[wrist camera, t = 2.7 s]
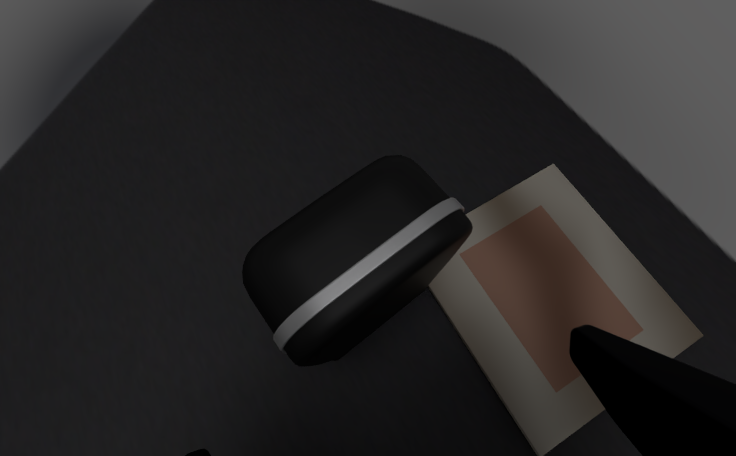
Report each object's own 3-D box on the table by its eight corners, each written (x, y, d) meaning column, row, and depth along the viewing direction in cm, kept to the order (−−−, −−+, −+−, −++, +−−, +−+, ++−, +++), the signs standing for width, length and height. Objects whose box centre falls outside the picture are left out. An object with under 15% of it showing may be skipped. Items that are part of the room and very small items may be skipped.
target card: (536, 455, 17) (540, 457, 17) (404, 251, 21) (405, 249, 21) (697, 336, 19) (703, 335, 19) (550, 166, 23) (553, 163, 22)
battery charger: (389, 235, 21) (406, 113, 11) (431, 285, 20) (498, 206, 10) (291, 308, 20) (198, 252, 9) (331, 366, 19) (278, 379, 8)
